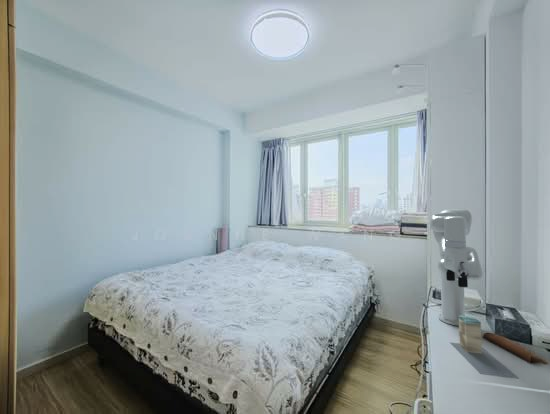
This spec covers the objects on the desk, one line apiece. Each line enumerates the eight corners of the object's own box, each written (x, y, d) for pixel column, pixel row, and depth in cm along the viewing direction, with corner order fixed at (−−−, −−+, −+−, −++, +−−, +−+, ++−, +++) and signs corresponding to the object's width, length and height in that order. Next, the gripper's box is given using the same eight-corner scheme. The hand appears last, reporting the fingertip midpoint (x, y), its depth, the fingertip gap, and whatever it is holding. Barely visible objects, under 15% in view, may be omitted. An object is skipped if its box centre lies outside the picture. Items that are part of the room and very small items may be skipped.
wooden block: (459, 345, 94) (458, 315, 95) (474, 346, 93) (472, 316, 94) (466, 352, 90) (465, 320, 90) (482, 353, 88) (480, 322, 89)
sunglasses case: (552, 364, 83) (543, 348, 83) (538, 375, 82) (528, 359, 82) (500, 338, 101) (492, 325, 101) (487, 347, 100) (480, 334, 100)
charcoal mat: (449, 343, 97) (449, 342, 97) (480, 347, 94) (480, 345, 94) (480, 375, 77) (480, 373, 77) (520, 380, 75) (519, 378, 75)
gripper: (436, 242, 111) (437, 277, 110) (456, 247, 94) (457, 289, 94) (454, 242, 109) (455, 278, 109) (477, 247, 93) (479, 290, 92)
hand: (456, 283), depth 101 cm, fingers open, 9 cm apart
